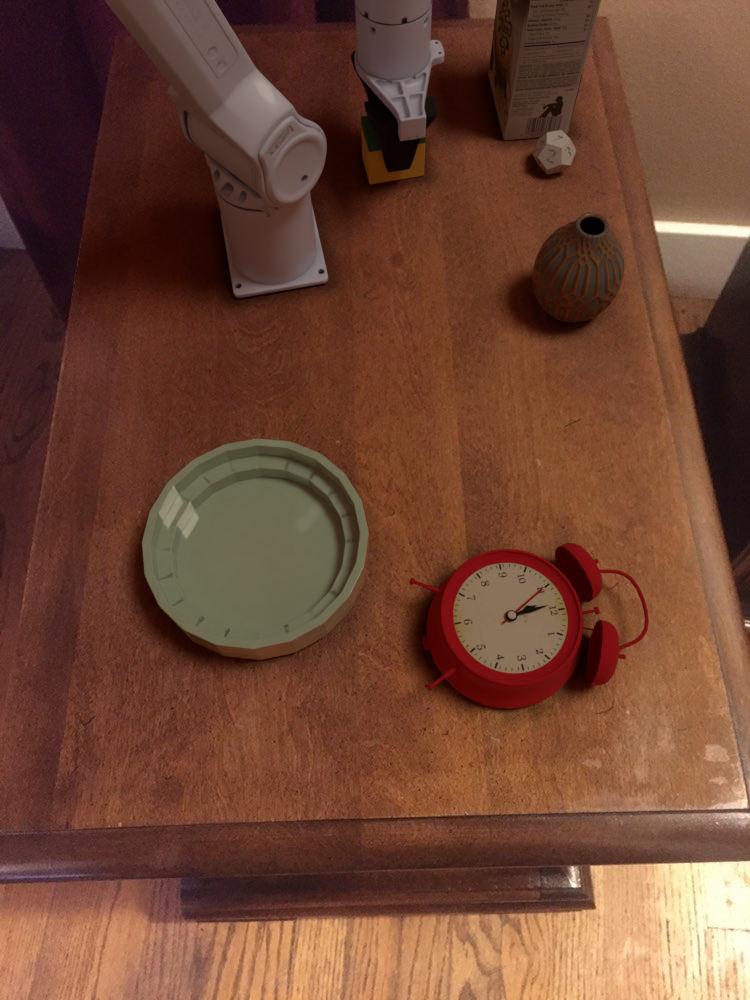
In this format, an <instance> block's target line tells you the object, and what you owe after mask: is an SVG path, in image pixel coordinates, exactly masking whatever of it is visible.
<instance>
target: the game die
mask: <svg viewBox="0 0 750 1000" xmlns="http://www.w3.org/2000/svg"><path fill="white" fill-rule="evenodd" d="M536 141H537V142H536V144H535V146H534V150H533V153H532V156H533V158H534V160H535V161H536V163H537V165H538V166H539V167H540V169H541V170H542V171H543V172H544V173H545V174H546V175H552V174H558V173H563V172H564V171H566V170H567V169H568V168H570V167H571V165H572V163H573V161H574V157H575V156H576V152H577V149H576V147H575V145H574V143H573V141H572V139H571V138H570V137H569V136H568V134H567V135H566V134H565V133H564V132H563V131H562V130H558V131H552V132H547V133H546V134H544V135H543V136H542V137H538V138H537V140H536Z"/></svg>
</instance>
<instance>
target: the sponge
mask: <svg viewBox="0 0 750 1000" xmlns="http://www.w3.org/2000/svg"><path fill="white" fill-rule="evenodd" d="M360 127H361V129H360V130H361V154H362V161H363V162H362V163H363V164H364V165H363V166H364V168H365V169H364V170H365V173H366V176H367V180H368V184H369V185H375V184H382V183H387V182H388V183H389V182H392V181H393V182H394V181H400V180H405V179H412V178H417V177H424V175H425V162H426V161H425V160H426V159H425V157H426V140H427V139H426V138H427V135H426V134H425V137H424V138H421V140H420V142H419V145H418V147H417V150H416V154H415V157H414V160H413V162H412V165H411V167H410V169H407V170H401V171H395V172H388V171H387V169H386V166H385V163H384V159H383V155H382V150H381V144H380V139H379V137H378V135H377V133H376V132H375V131H374V129H373V128H372V126H371V124H370V122H369V120H368V117H367V115H362V116H361V117H360Z"/></svg>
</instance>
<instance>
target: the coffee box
mask: <svg viewBox="0 0 750 1000" xmlns="http://www.w3.org/2000/svg"><path fill="white" fill-rule="evenodd" d="M601 2H602V0H496V7H495V15H494V22H493V30H492V31H493V32H492V40H491V49H490V57H489V66H488V75H487V77H488V81H489V85H490V88H491V93H492V97H493V101H494V105H495V111H496V113H497V119H498V122H499V127H500V131H501V135H502V139H503V141H512V140H513V141H514V140H524V139H539V138H541V137H542V136H543V135H544V134H546V133H547V132H552V131H558V130H562V131H563V132H564V133H565V134H566V135H567V136H568V134H569V132H570V131H569V130H570V126H571V122H572V118H573V115H574V110H575V106H576V102H577V98H578V94H579V90H580V86H581V82H582V78H583V74H584V71H585V66H586V63H587V59H588V56H589V55H588V54H589V51H590V47H591V43H592V38H593V36H594V35H593V34H594V30H595V26H596V23H597V19H598V15H599V11H600V7H601Z"/></svg>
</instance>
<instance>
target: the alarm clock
mask: <svg viewBox="0 0 750 1000" xmlns="http://www.w3.org/2000/svg"><path fill="white" fill-rule="evenodd" d="M554 560H555V564H556V566H555V565H554V564H553V563H552V562H550V561H549V560H547V559H545V558H544V557H542V556H540V555H537V554H535V553H532V552H529V551H526V550H522V549H515V548H514V549H513V548H498V549H493V550H487V551H485V552H482V553H478V554H476V555H475V556H473V557H471V558H469V559H468V560H466V561H465V562H463V563H462V564H461V565H459V566H458V567H457V568H456V569H455V570H454V571H453V572H452V573H451V574H450V575H448V577H446V579H445V580H444V581H443V582H442V583H441V584H440V585H439V587H436V586H433V585H430V584H426V583H423V582H420V581H417V580H416V578H414V577H411V578H410V579H409V582H408V583H409V584H410V585H412V586H413V585H417V586H419V587H422V588H423V589H426V590H428V591H431V592H433V593H435V594H434V596H433V598H432V600H431V603H430V606H429V609H428V614H427V619H426V636H422V638H421V639H422V644H423V650H424V651H430V655H431V656H432V659H433V662H434V663H435V665H436V668H437V669H438V670H439V672H440V674H441V676H440V677H438V678H437V679H436V680H434V681H433V682H429V683H428V684H427V689H428V690H429V691H434V690H435V686H437V685H438V684H440V683H441V682H442V681H444V680H446V681H447V682H448V683H449V684H450V685H451V686H452V687H453V688H454V689H455V690H456V691H457V692H459V693H460V694H462V695H463V696H464V697H466V698H468V699H470V700H472V701H474V702H475V703H479V704H481V705H483V706H487V707H491V708H496V709H497V708H498V709H521V708H527V707H531V706H533V705H537V704H539V703H541V702H542V701H545V700H547V699H548V698H550V697H552V696H554V694H556V693H557V692H558V691H559V690H560V689H561V688H563V686H564V685H565V684H566V683H567V681H568V680H569V679H570V677H571V676H572V674H574V671H575V669H576V668H577V665H578V662H579V660H580V656H581V652H582V647H583V646H582V645H583V631H584V630H588V631H591V635H590V638H589V644H588V649H587V657H586V681H587V683H588V684H589V685H591V686H602V685H606V684H607V683H608V682H609V681H610V680H611V679H612V678H613V676H614V674H615V672H616V670H617V666H618V662H619V660H626V659H627V655H626V654H622V653H620V652H621V650H623V649H626V648H630V647H632V646H634V645H635V644H637V643H639V642H641V640H642V639H644V638H645V636H646V634H647V632H648V630H649V622H650V620H649V611H648V607H647V602H646V599H645V597H644V594H643V592H642V590H641V588H640V586H639V584H638V583H637V581H636V580H635V579H634V578H633V577H632V576H631V575H630V574H628V573H627V572H625V571H621V570H619V569H600V568H599V566H598V564H599V559H598V558H595V559H594V558H593V557H592V555H591V554H590V553H589V552H588V551H587V550H586V549H585V548H584V547H583V546H581V545H580V544H577V543H574V542H566V543H563V544H561V545H558V546H557V547H556V549H555V550H554ZM602 574H614V575H619V576H622V577H624V578H625V579H626V580H628V581H629V582H630V583H631V584H632V586H633V587H634V588H635V590H636V592H637V594H638V598H639V599H640V602H641V606H642V609H643V617H644V626H643V629H642V630H641V633H640V634H639V635H638V636H637V637H636V638H634V639H633V640H631V641H629V642H626V643H623V644H622V645H620V635H619V633H618V629H617V628H616V626H615V625H614V624H613V623H612V622H610V621H607V620H605V619H597V621H596V622H595V624H594V626H593V628H591V627H586V626H584V615H585V614H586V615H587V614H593V613H594V614H595V615H600V614H601V611H600V607H599V606H597V605H596V606H594V607H593V609H588V610H583V609H582V605H581V602H585V603H590V602H592V601H594V600H595V599H596V598H597V597H598V596H600V594H601V592H602V590H603V576H602ZM580 600H581V602H580Z"/></svg>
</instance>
